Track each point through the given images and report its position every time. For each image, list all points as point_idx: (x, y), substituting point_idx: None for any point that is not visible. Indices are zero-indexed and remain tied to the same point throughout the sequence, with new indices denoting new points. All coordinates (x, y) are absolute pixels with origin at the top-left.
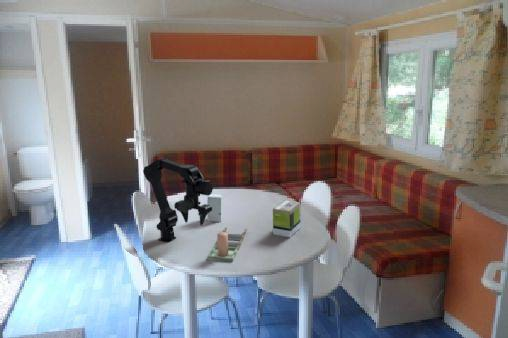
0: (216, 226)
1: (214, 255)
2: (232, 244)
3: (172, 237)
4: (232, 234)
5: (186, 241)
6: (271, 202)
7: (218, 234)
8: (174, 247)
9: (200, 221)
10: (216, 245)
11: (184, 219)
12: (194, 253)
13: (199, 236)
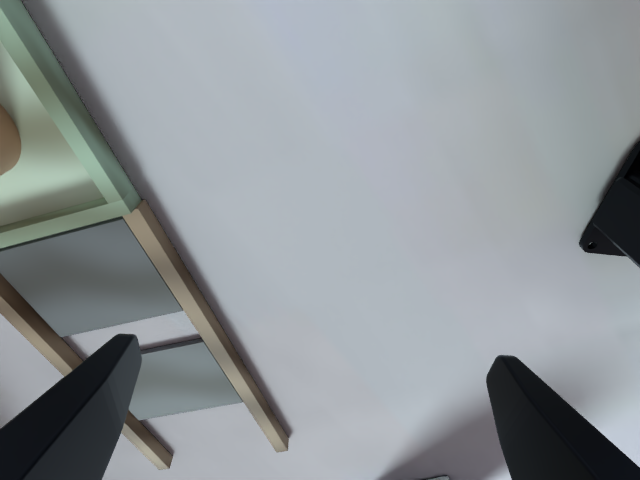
0: (362, 449)
1: (8, 68)
2: (68, 302)
3: (617, 208)
4: (190, 406)
5: (457, 227)
6: None
7: None
8: (524, 69)
9: (56, 411)
10: (137, 237)
11: (561, 404)
12: (236, 30)
13: (394, 327)
